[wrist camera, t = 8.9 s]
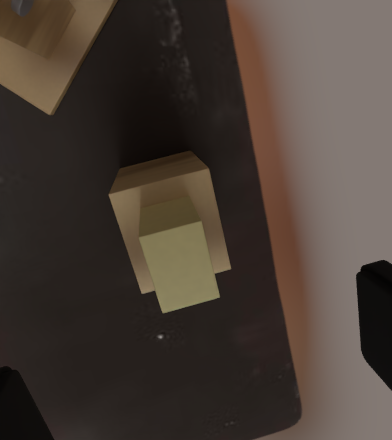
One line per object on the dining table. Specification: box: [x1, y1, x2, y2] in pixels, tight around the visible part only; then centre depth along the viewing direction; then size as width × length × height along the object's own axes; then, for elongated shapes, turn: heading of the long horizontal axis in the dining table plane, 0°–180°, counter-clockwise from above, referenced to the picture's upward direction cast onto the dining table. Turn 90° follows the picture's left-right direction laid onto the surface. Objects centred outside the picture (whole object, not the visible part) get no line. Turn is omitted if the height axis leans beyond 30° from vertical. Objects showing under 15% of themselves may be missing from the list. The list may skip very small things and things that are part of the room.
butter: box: [139, 196, 220, 313], centre depth 21 cm, size 5×4×6 cm
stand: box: [109, 151, 231, 294], centre depth 29 cm, size 8×7×10 cm
